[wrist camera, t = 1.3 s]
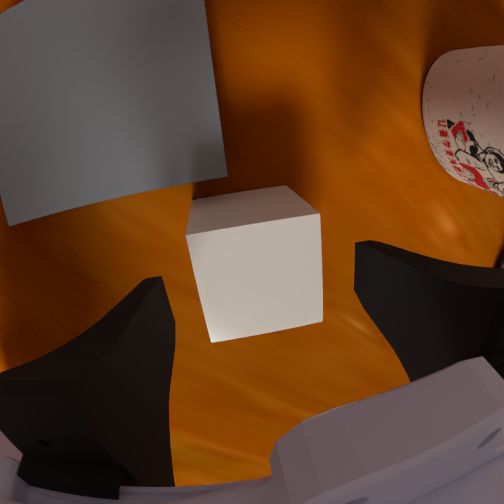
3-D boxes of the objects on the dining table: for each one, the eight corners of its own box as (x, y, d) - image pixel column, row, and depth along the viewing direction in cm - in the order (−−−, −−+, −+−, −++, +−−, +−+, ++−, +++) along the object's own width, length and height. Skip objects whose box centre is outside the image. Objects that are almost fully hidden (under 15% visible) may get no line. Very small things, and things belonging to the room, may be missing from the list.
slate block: (31, 211, 14) (8, 226, 12) (7, 31, 10) (-16, 23, 7) (224, 168, 15) (228, 176, 13) (198, -31, 10) (197, -54, 8)
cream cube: (208, 282, 17) (211, 342, 12) (192, 199, 15) (185, 235, 10) (292, 268, 17) (322, 321, 13) (285, 184, 15) (320, 213, 11)
